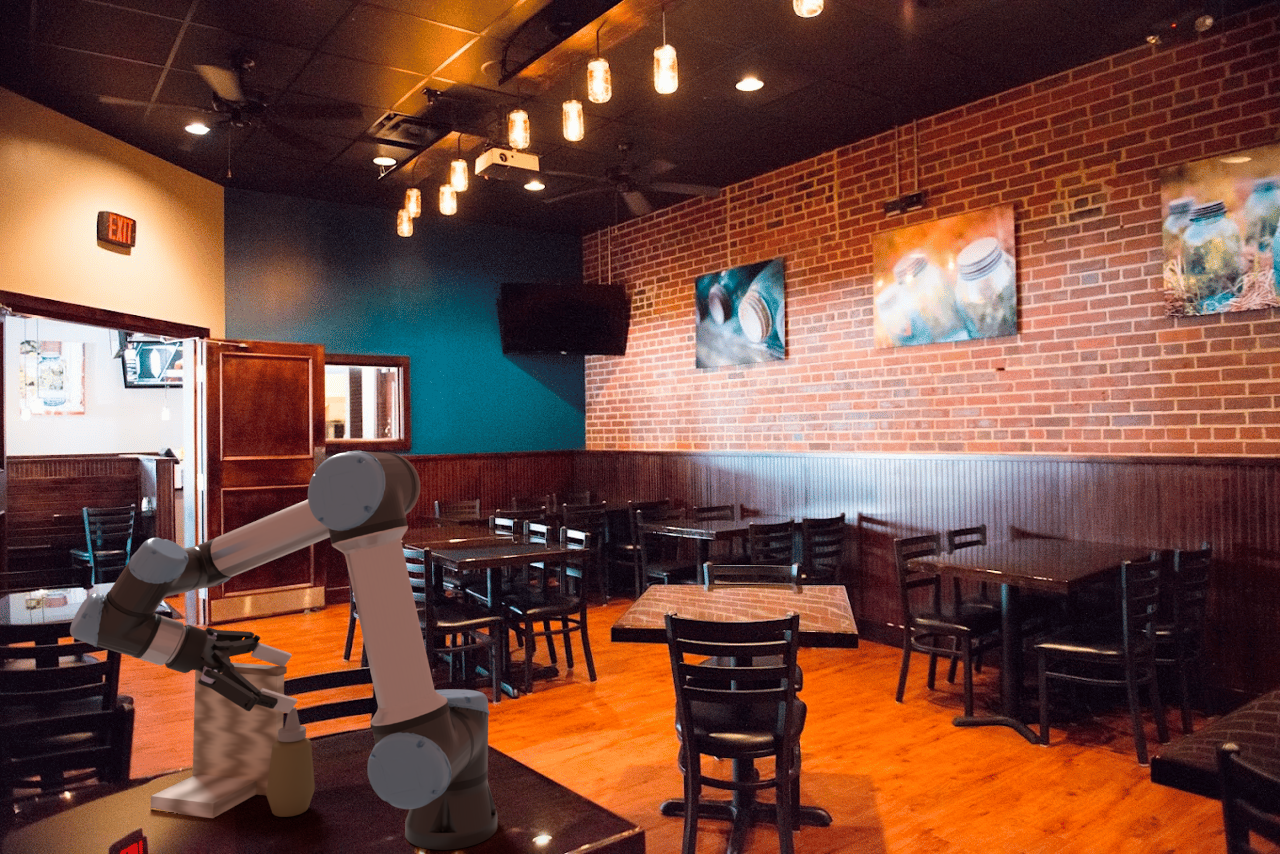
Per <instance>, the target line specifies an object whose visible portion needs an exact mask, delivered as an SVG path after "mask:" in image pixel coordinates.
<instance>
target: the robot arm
mask: <svg viewBox="0 0 1280 854" xmlns="http://www.w3.org/2000/svg"><path fill="white" fill-rule="evenodd" d="M308 483H309V485H308V488H307V499H306V500H304V501H301V502H299V503H295V504H293V505H291V506H288V507H286V508H284V509H281V510H280V511H276V512H274V513H271V514H269V515H267V516H264V517H262V518H259V519H258V520H256V521H255V520H254V521H253V522H251V523H247V524H245V525H243V526H241V527H238V528H236V529H233V530H231V531H228V532H227V533H224V534H221V535H219V536H217V537H215V538H212V539H209V540H207V541H204V542H202V543H200V544H198V545H195V546H190V547H184V548H183V547H182V546H181V545H179V544H178V543H177V542H175V541H172V540H169V539H166V538H165V539H163V538H160V537H151V538H149V539H146V540H145V541H144V542H143V543H142V544H141V545H140V546H139V548H138V549H137V550H136V551H135V552H134V553H133V555H132V556H130V559H129V561H128V562H127V564H126V566H125V567H124V569H123V570H122V572H121V573H120V575H119V576H118V578H117V579H116V581H115V582H114V584H113V585H112V587H110V588H111V589H110V590H109V591H108V592H107V593H106V594H101V593H95V592H94V593H90V594H89V595H88V596H87V597H86V598H85V599H84V600H83V601H82V603H81V604H80V606H79V608H78V610H77V611H76V613H75V615H74V617H73V619H72V622H71V624H70V628H69V633H70V635H71V637H72V638H74V639H75V640H78V641H81V642H83V643H86V644H89V645H92V646H93V647H95V648H101V649H104V650H110V651H112V652H114V653H115V652H116V653H119V654H123V655H126V656H130V657H132V658H135V659H139V660H142V661H143V662H148V663H151V664H154V665H158V666H163V665H165V667H166V668H167V669H169V670H172V671H176V672H179V673H183V674H188V673H189V672H191V671H195V670H198V671H200V672H201V673H202V676H201V678H200V679H199V680H198V683H199V684H201V685H203V686H206V687H209V688H211V689H213V690H214V691H216V692H217V693H219V694H221V695H222V696H224V697H225V698H227V699H229V700H230V701H232V702H233V703H235V704H237V705H238V706H240V707H241V708H243V709H245V710H246V711H251V709H252V708H253V707H254V705H260V706H264V707H268V708H270V709H275V710H278V711H282V712H283V713H286V714H287V715H288V714H289V713H290V711H291V710H292V708H293V707H295V706H296V704H297V702H298V698H295V697H292V696H289V695H287V694H286V695H285V694H284V695H283V694H280V693H277V692H274V691H270V690H267V689H264V688H262V689H261V691H260V690H259V689H257V688H256V687H255V686H254V685H253V684H251V683H250V682H249V681H248V680H247V679H245V678H244V677H243V676H242V675H241V674H240V673H238V672H237V671H236V670H235V669H234V665H233V664H232V663H233V662H232V661H231V658H230V657H236V656H240V655H245V654H250V653H251V654H250V657H252V658H255V659H259V660H261V661H263V662H267V663H269V664H271V665H273V664H274V666H285V667H286V665H287V664H288V662H289V661H290V659H291V657H293V655H292V653H290V652H288V651H285V650H282V649H279V648H276V647H274V646H270V645H268V644H265V643H261V642H260V640H261V636H259V635H257V634H255V633H254V632H252V631H241V630H226V629H225V630H222V629H215V628H212V627H206V628H205V629H203V628H200V627H196V626H194V625H191V624H186V625H184V623H183V622H182V621H180V620H176V619H173V618H171V617H170V618H169V617H167V616H164V615H161V614H158V613H155V612H156V611H157V609H158V608H159V607H160V605H161V604H162V602H163V600H164V599H165V598H166V597H169V596H170V597H171V596H174V595H178V594H183V593H188V592H191V591H195V590H201V589H207V588H209V589H210V588H213V587H216V586H220V585H222V584H225V583H226V582H228V581H229V580H230V579H231V578H233V577H235V576H237V575H240V574H242V573H245V572H248V571H249V570H252V569H254V568H257V567H259V566H262V565H264V564H266V563H269V562H271V561H274V560H276V559H279V558H282V557H284V556H286V555H289V554H291V553H294V552H296V551H299V550H302V549H304V548H306V547H309V546H311V545H315V544H316V543H318V542H321V541H323V540H327V539H328V538H330V542H331V543H330V544H331V547H333V548H334V549H336V550H338V551H339V552H341V553H342V554H343V555H344V557H345V561H346V562H345V563H346V565H347V570H348V575H349V579H350V584H351V588H352V592H353V593H352V594H353V598H354V602H355V606H356V611H357V612H356V613H357V616H358V621H359V625H360V630H361V635H362V639H363V643H364V648H365V653H366V658H367V663H368V667H369V670H370V675H371V680H372V685H373V689H374V694H375V699H376V703H377V710H376V712H375V714H374V715H373V717H372V719H371V720H370V726H371V730H372V734H373V739H374V744H375V745H374V746H373V748H372V749H371V752H370V755H369V757H368V760H367V766H366V767H367V777H368V781H369V784H370V785H371V788H372V789H373V791H374V792H375V794H376V795H377V796H378V797H379V798H380V799H381V800H382V801H384V802H387V803H388V804H390V805H391V806H392V807H395V808H397V809H402V810H408V813H407V816H406V817H405V823H404V825H405V826H404V827H405V829H404V831H405V832H404V836H405V839H406V840H407V841H408V842H409V843H410V844H412V845H413V846H416V847H418V848H421V849H422V848H423V849H426V850H427V849H428V850H434V851H435V850H437V851H438V850H439V851H448V850H457V849H464V848H468V847H471V846H476V845H478V844H481V843H482V842H484V841H485V842H486V840H489V839H490V838H491V837H492V836H494V835H495V833H496V832H497V829H498V811H497V808H496V804H495V801H494V799H493V795H492V791H491V789H490V785H489V782H488V763H489V761H488V760H489V758H488V755H489V715H490V710H489V700H488V696H487V695H486V694H485V693H483V692H482V691H478V690H473V689H459V688H458V689H454V688H452V689H447V688H446V689H435V687H434V683H433V678H432V671H431V669H430V664H429V659H428V655H427V654H428V653H427V650H426V646H425V642H424V637H423V633H422V628H421V623H420V620H419V614H418V611H417V606H416V602H415V597H414V592H413V589H412V583H411V580H410V575H409V570H408V567H407V566H408V565H407V562H406V561H407V560H406V557H405V553H404V549H403V548H404V547H403V543H402V540H403V539H402V538H403V537H404V535H405V534H406V533H407V530H408V529H409V525H408V521H407V516H406V515H408V514H409V513H410V512H411V511H412V510H413V509H414V507H415V506H416V504H417V502H418V499H419V496H420V494H421V480H420V477H419V474H418V471H417V469H416V468H415V466H414V465H413V464H412V463H411V462H410V461H409V460H408V459H406V458H405V457H403V456H401V455H399V454H397V453H394V452H387V451H386V452H385V451H384V452H383V451H380V452H376V451H375V452H374V451H364V450H363V451H362V450H352V451H346V452H341V453H337V454H335V455H332V456H330V457H328V458H326V459H325V460H323V462H322V463H320V465H318V466H317V468H316V469H315V471H314V473H313V474H312V476H311V478H310V481H309V482H308ZM222 672H223V673H222ZM220 673H222V674H220Z"/></svg>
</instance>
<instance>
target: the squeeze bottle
mask: <svg viewBox="0 0 1280 854" xmlns="http://www.w3.org/2000/svg"><path fill="white" fill-rule="evenodd" d="M312 749H313V748H312V740H311V739H309V738H308V737H307V727H306V726H304V725H301V723H300V721H299V715H298V711H297V706H296V707H295V706H294V707H293V708H292V710H291V711H290V713H289V714H288V713H287V716H286V719H285V723H284V726H283V728H280V729H279V730H278V741H277V742H275V743H274V744H273V745H272V753H271V761H270V769H269V777H268V785H267V793H266V795H265V796H266V799H267V801H268V804H269V807H270V810H271V813H272V814H273V815H274V816H275V817H280V818H285V817H286V818H288V817H295V816H298V815H301V814H303V813H305V812H306V811H307V810H309V807H310V804H311V801H312V799H313V796H314V793H315V789H316V784H315V774H314V773H315V771H314V761H313V750H312Z"/></svg>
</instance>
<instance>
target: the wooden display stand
mask: <svg viewBox="0 0 1280 854" xmlns="http://www.w3.org/2000/svg"><path fill="white" fill-rule="evenodd" d="M231 663H232V664H233V665H234V669H235V670H236V671H237V672H238V673H240V674H241V675H242V676H243V677H244V678H245V679H247V680H248V681H249V682H250V683H251V684H253V685H254V686H255V687H256V688H257V689H259V690H260V691H261V689H262V688H264V689H267V690H270V691H274V692H277V693H280V694H283V695H285V674H288V669H287V668H288V667H287V666H286V665H285V666H278V665H272V664H271V665H267V664H255V663H242V662H241V663H239V662H231ZM222 673H223V672H222ZM222 673H220V674H222ZM201 676H202V673H201V672H200V671H198V670H194V703H193V704H194V705H193V706H194V710H193V714H194V715H193V742H192V743H193V744H192V745H193V748H192V776H190V777H188V778H185V779H184V780H182V781H179V782H178V783H176V784H173V785H171V786H169V787H167V788H165V789H163V790H161V791H158V792H156V793H155V794H152V795H150V809H151V808H156V809H161V810H165V811H169V812H174V813H173V814H176V813H178V815H183V816H193V817H200V818H209V819H214V818H215V817H218V816H220V815H221V814H223V813H225V812H227V811H229V810H230V809H232V808H234V807H235V806H237V805H239V804H241V803H243V802H245V801H247V800H248V799H250V798H252V797H254V796H255V795H259V796H266V793H267V785H268V777H269V769H270V761H271V753H272V745H273V744H274V743H275V742H277V741H278V730H279V729H280V728H283V727H284V712H282V711H278V710H275V709H270V708H268V707H264V706H260V705H254V707H253V708H252V709H251V711H246V710H245V709H243V708H241V707H240V706H238V705H237V704H235V703H233V702H232V701H230V700H229V699H227V698H225V697H224V696H222V695H221V694H219V693H217V692H216V691H214V690H213V689H211V688H209V687H206V686H203V685H201V684H199V683H198V680H199V679H200V678H201Z"/></svg>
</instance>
